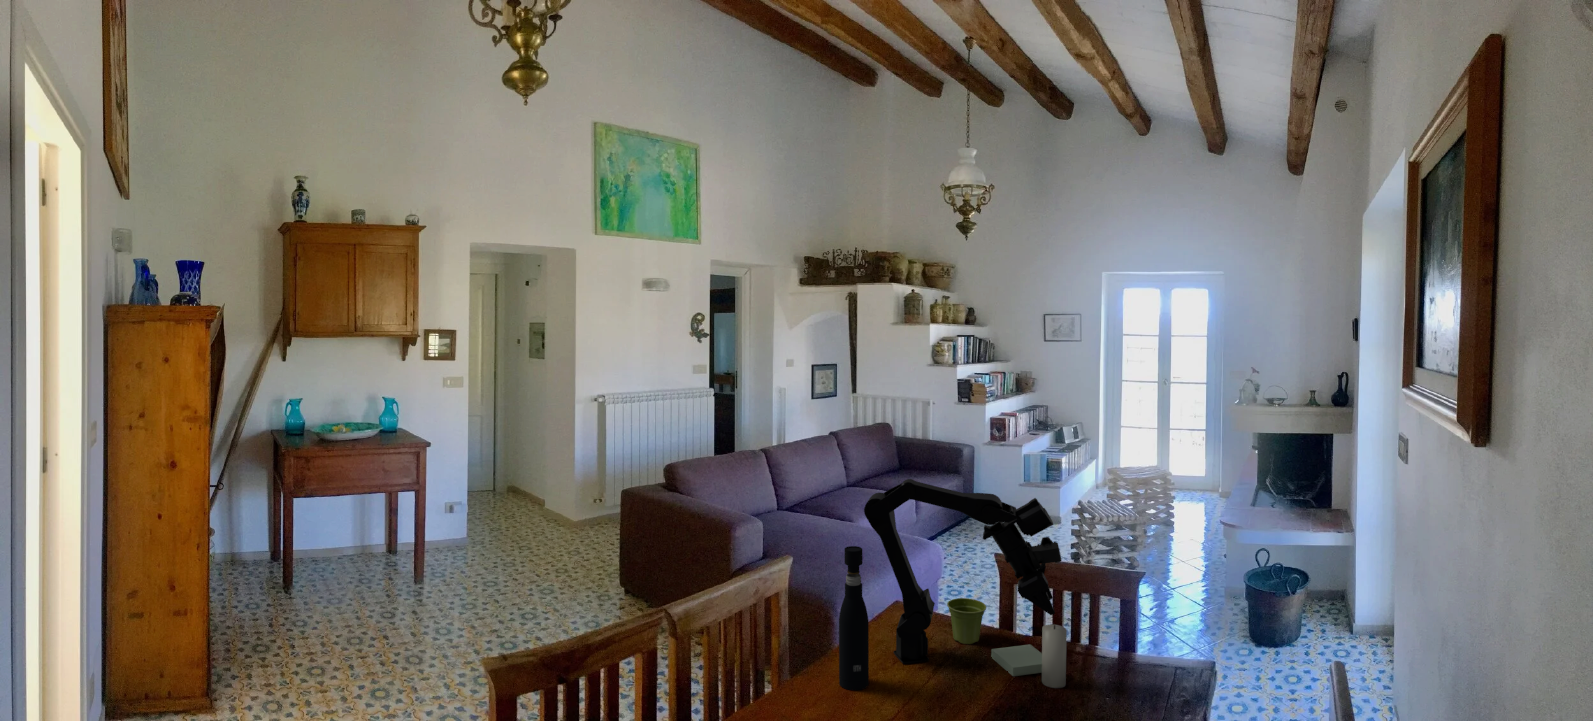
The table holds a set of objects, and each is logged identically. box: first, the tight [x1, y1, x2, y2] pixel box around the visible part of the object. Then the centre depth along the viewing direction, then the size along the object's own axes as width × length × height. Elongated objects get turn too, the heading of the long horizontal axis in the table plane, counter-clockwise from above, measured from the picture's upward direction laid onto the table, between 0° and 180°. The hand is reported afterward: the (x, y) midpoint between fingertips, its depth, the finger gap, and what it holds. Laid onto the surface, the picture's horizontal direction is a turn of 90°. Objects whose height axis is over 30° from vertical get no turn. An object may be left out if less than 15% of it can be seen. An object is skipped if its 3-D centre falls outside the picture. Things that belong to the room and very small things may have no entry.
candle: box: [1041, 624, 1068, 689], centre depth 178 cm, size 5×5×13 cm
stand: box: [990, 644, 1042, 677], centre depth 188 cm, size 10×10×2 cm
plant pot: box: [946, 597, 987, 645], centre depth 202 cm, size 9×9×9 cm
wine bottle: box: [838, 545, 870, 691], centre depth 178 cm, size 6×6×30 cm
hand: (1051, 606), depth 183 cm, fingers open, 9 cm apart
